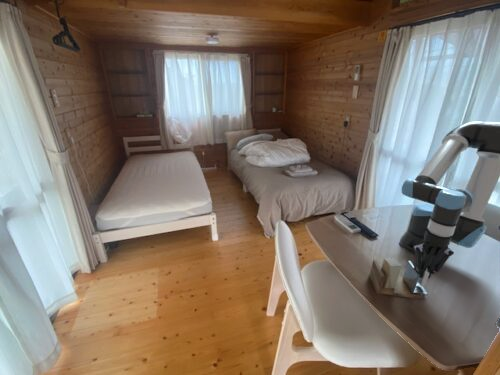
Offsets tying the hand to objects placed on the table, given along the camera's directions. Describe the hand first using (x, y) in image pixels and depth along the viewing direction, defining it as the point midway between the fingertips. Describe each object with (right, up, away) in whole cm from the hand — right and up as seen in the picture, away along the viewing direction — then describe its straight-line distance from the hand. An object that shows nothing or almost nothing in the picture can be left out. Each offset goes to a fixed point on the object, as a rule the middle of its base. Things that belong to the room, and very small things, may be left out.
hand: (421, 283), depth 95 cm
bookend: (-2, -2, +1) cm, 3 cm away
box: (-12, -1, +2) cm, 13 cm away
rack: (-9, -2, +3) cm, 10 cm away
